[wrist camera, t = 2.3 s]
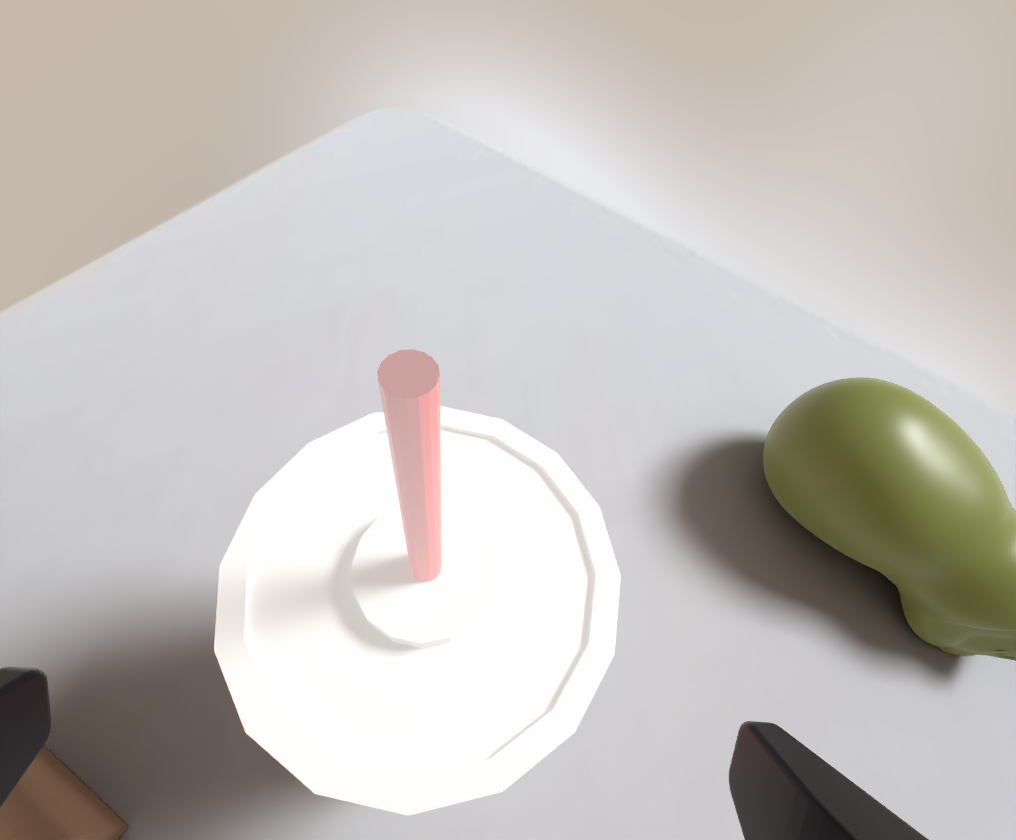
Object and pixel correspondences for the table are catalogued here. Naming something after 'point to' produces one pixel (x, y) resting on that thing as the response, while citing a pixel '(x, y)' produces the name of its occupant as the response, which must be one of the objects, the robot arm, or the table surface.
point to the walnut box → (56, 806)
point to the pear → (903, 506)
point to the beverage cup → (417, 603)
